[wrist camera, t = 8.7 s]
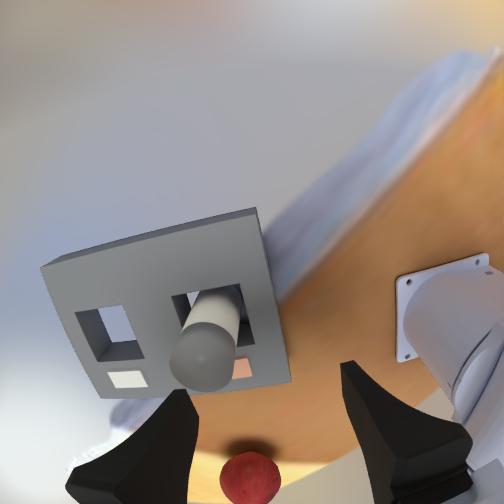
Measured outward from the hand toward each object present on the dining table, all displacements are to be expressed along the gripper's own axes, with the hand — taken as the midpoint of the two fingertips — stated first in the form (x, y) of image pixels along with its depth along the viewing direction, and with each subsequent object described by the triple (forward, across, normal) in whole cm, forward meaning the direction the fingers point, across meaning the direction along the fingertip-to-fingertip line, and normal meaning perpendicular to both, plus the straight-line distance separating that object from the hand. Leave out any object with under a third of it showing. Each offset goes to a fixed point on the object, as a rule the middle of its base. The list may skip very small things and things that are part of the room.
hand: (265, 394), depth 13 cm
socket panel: (+9, +7, -1) cm, 12 cm away
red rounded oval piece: (+10, +5, +17) cm, 20 cm away
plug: (+9, +3, -1) cm, 10 cm away
